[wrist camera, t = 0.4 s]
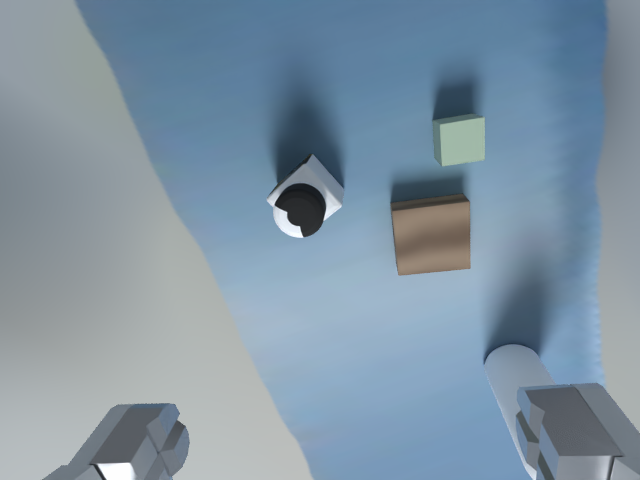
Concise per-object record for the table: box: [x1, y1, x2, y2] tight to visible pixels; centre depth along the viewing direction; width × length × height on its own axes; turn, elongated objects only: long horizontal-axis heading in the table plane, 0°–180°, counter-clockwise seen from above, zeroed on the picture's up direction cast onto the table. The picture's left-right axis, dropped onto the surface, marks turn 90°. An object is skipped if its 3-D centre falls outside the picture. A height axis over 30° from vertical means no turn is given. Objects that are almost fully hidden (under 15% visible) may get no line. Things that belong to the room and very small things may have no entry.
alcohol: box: [484, 344, 556, 480], centre depth 48 cm, size 9×9×30 cm
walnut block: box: [390, 194, 470, 275], centre depth 52 cm, size 10×10×4 cm
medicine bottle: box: [267, 154, 344, 237], centre depth 47 cm, size 7×7×12 cm
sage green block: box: [433, 113, 485, 166], centre depth 45 cm, size 5×5×5 cm
